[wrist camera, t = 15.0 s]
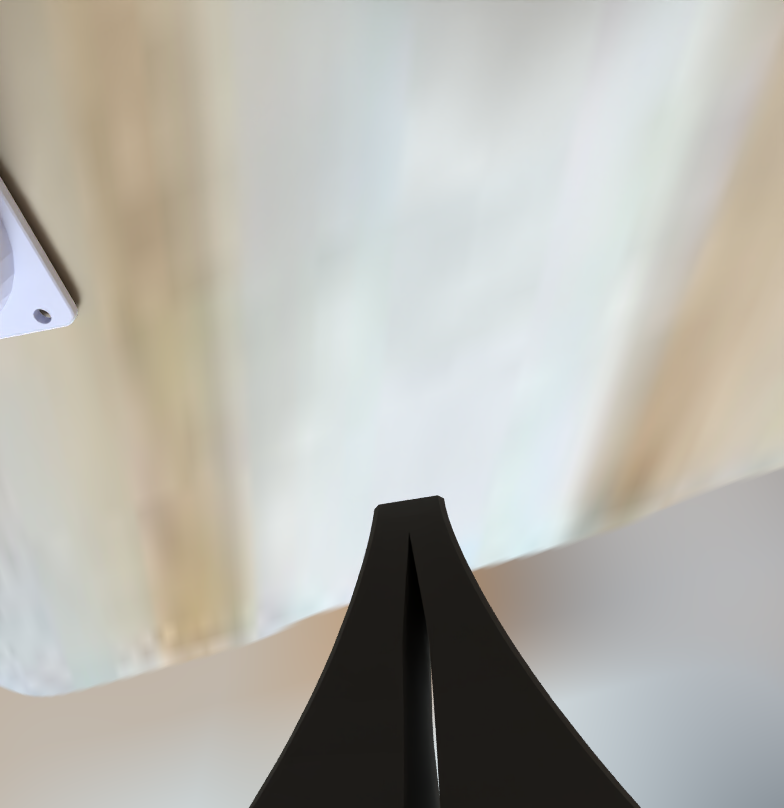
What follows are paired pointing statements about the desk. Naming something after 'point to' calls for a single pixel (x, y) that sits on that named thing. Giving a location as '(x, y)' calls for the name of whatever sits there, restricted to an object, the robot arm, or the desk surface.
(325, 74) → the desk surface
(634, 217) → the desk surface
